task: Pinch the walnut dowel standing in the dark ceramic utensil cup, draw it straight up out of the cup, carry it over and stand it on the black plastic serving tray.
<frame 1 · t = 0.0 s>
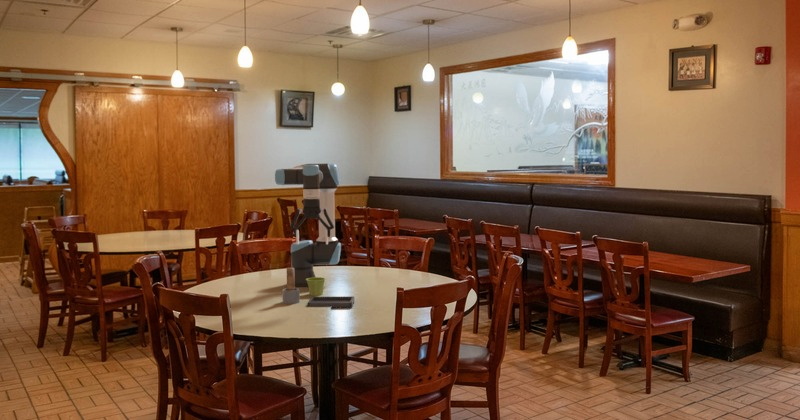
hand: (312, 244, 313), 28 cm above the table, fingers open, 13 cm apart
plant pot: (316, 296, 332), on the table
dowel: (291, 302, 314), point 1 cm above the table, touching cup
tray: (331, 305, 312), on the table
cup: (291, 304, 315), on the table
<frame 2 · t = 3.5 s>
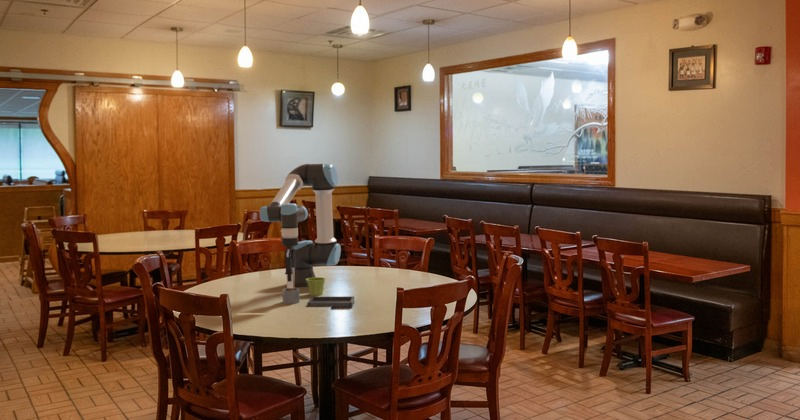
hand: (290, 287, 314), 8 cm above the table, fingers closed on dowel, 3 cm apart
dowel: (291, 302, 314), point 1 cm above the table, touching cup, gripper
everything else where it was.
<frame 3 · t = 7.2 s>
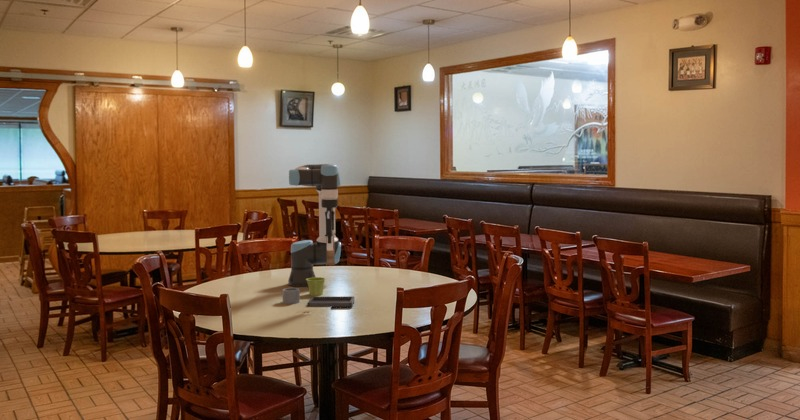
hand: (330, 249, 310), 26 cm above the table, fingers closed on dowel, 3 cm apart
dowel: (330, 265, 311), point 19 cm above the table, touching gripper
everything else where it was.
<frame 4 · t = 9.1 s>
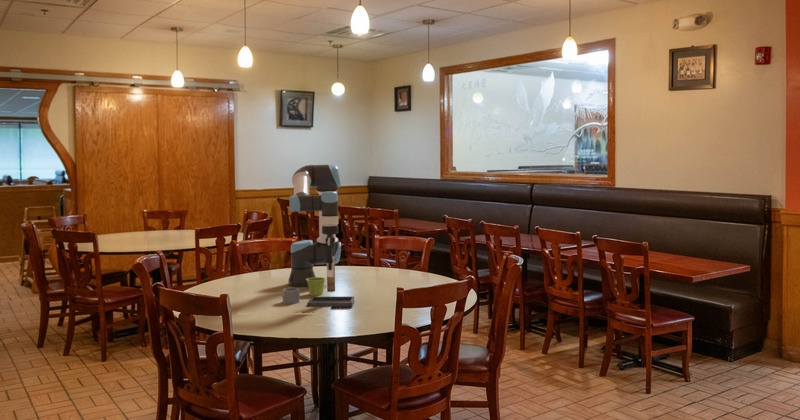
hand: (331, 275, 311), 14 cm above the table, fingers closed on dowel, 3 cm apart
dowel: (331, 291, 311), point 7 cm above the table, touching gripper
everything else where it was.
when the fingers open (9 cm above the table, at t = 10.8 s): dowel stays where it is, resting on tray.
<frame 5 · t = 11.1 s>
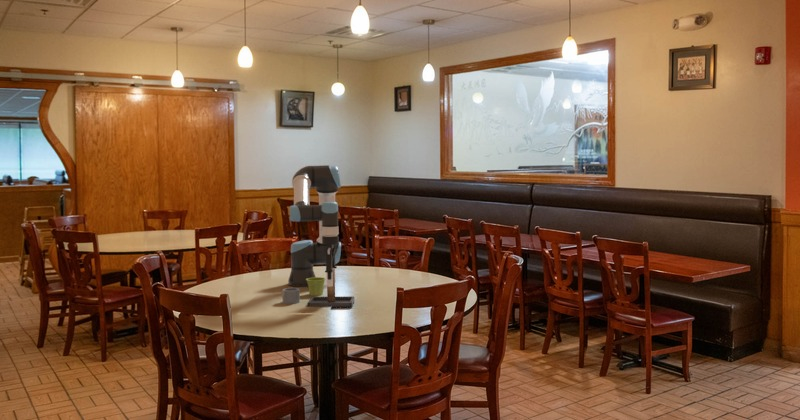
hand: (331, 284, 311), 10 cm above the table, fingers open, 8 cm apart
dowel: (331, 302, 312), point 1 cm above the table, touching tray
everything else where it was.
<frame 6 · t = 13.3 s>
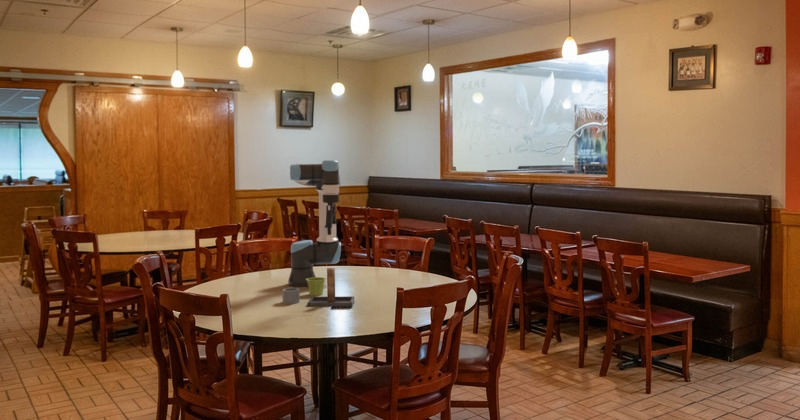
hand: (331, 239, 312), 30 cm above the table, fingers open, 13 cm apart
nothing on the table moved.
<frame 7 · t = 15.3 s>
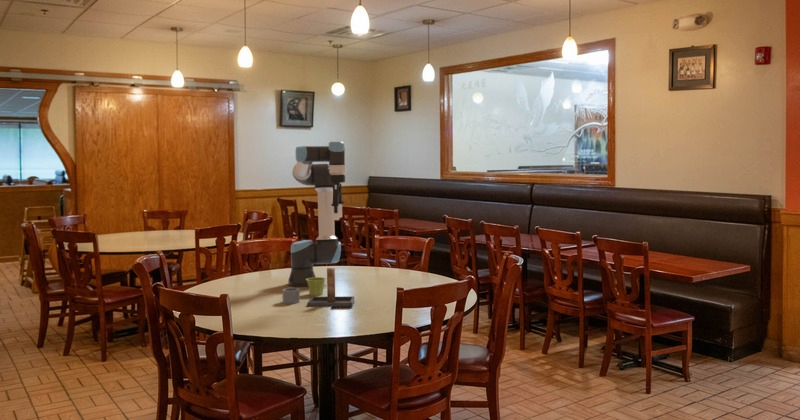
hand: (337, 218, 323), 39 cm above the table, fingers open, 13 cm apart
nothing on the table moved.
at the end: dowel inside the target area on the tray (0.0 cm from its centre), point 1.0 cm above the tray's base; dowel tilted 1°; the gripper is holding nothing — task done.
